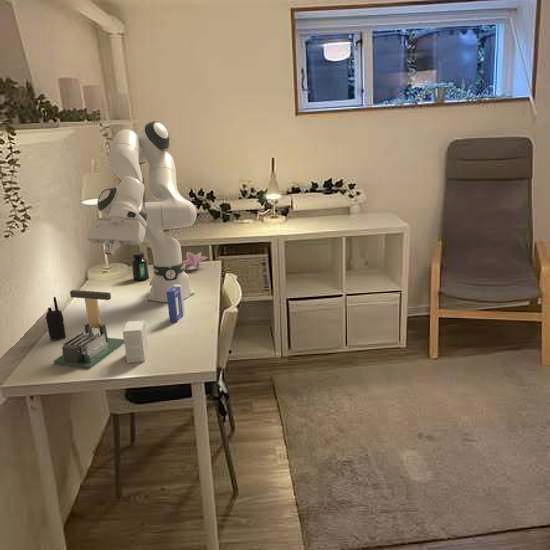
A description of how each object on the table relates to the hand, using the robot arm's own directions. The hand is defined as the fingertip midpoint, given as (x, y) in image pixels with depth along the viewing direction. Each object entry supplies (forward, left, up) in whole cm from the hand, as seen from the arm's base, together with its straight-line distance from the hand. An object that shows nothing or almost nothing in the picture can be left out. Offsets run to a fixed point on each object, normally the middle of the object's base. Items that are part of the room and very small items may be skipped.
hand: (108, 253), depth 186 cm
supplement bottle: (-61, +12, -29) cm, 68 cm away
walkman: (-6, +21, -29) cm, 36 cm away
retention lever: (+10, -7, -21) cm, 24 cm away
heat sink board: (+13, -9, -28) cm, 33 cm away
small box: (+22, +5, -29) cm, 36 cm away
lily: (-64, +36, -29) cm, 79 cm away
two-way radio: (-3, -20, -29) cm, 35 cm away
